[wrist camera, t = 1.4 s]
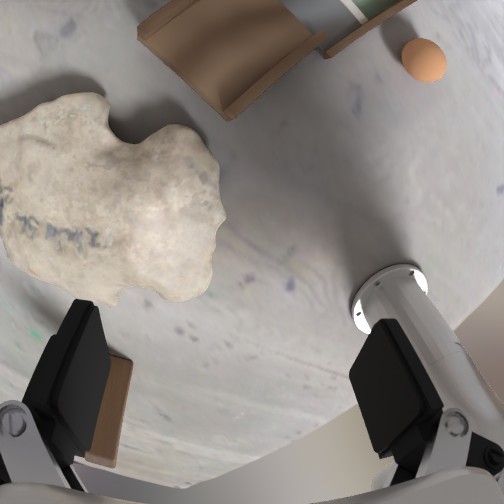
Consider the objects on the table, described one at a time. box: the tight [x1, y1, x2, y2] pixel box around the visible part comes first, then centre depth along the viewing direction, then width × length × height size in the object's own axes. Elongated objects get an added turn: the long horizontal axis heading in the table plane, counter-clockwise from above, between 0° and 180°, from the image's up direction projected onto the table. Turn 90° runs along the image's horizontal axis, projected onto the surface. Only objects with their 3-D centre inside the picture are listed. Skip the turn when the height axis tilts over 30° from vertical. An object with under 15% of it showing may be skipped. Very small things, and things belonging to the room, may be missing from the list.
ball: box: [402, 38, 446, 82], centre depth 23 cm, size 5×5×5 cm
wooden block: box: [85, 355, 133, 468], centre depth 37 cm, size 9×4×18 cm, turn 68°
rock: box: [0, 92, 226, 307], centre depth 28 cm, size 8×25×30 cm
